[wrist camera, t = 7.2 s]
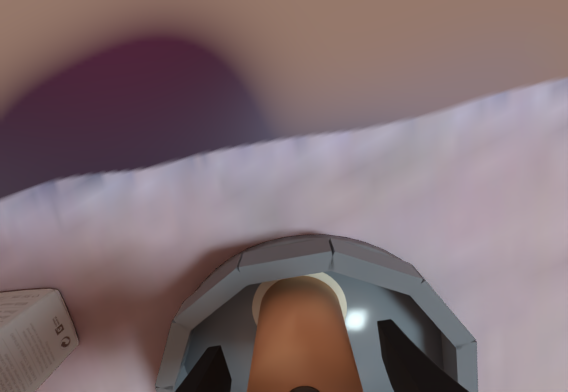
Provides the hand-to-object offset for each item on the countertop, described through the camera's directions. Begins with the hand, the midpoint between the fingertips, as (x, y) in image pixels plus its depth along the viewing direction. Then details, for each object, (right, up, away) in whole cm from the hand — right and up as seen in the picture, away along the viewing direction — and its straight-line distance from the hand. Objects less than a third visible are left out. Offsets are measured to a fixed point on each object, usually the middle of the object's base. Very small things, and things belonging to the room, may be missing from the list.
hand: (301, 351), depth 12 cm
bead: (0, +1, +3) cm, 3 cm away
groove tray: (+1, -3, +5) cm, 6 cm away
